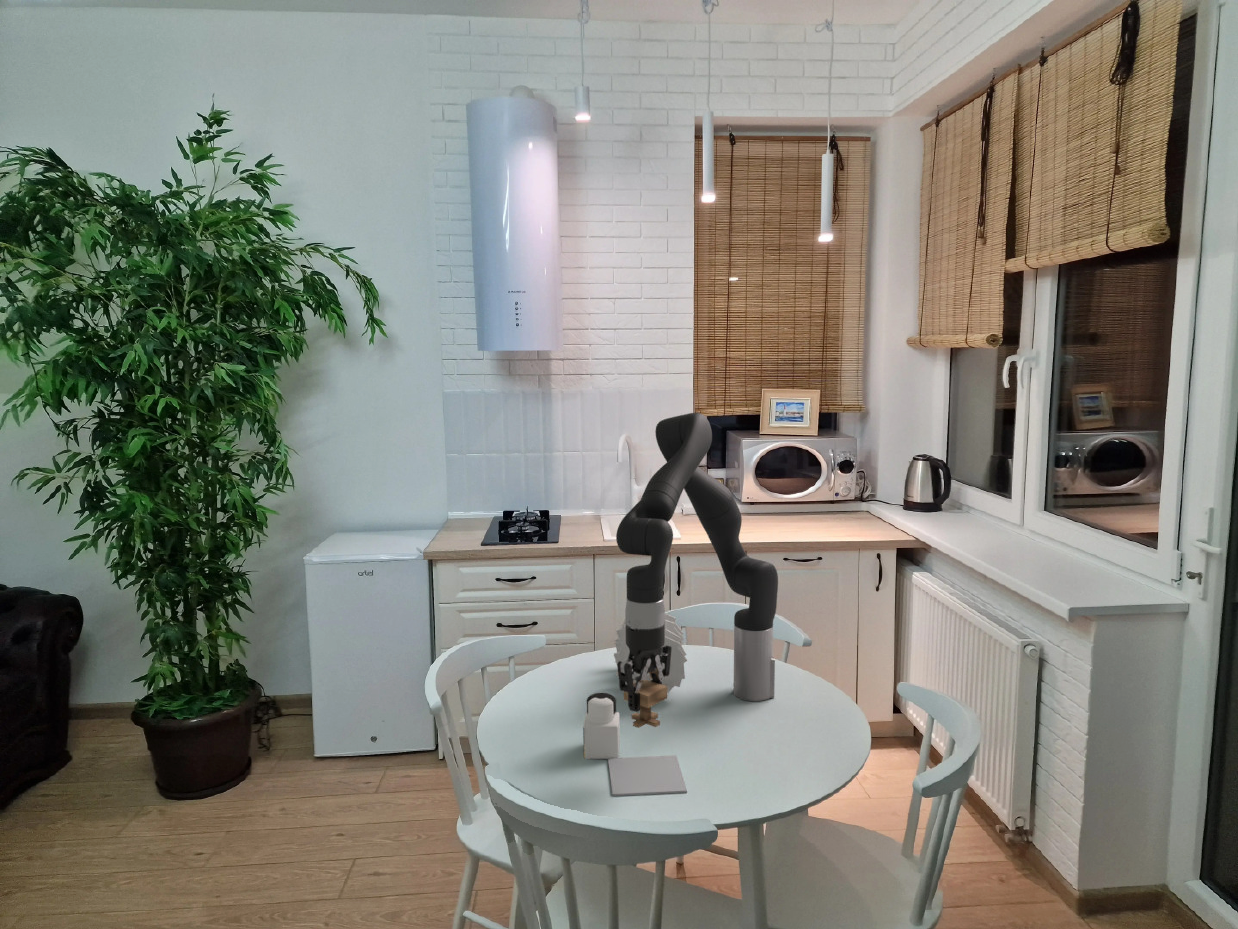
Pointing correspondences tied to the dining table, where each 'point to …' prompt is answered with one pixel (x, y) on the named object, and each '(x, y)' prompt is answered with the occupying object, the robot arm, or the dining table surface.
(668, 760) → the mat
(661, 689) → the wooden pedestal stool
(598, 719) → the blocky figurine
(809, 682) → the dining table surface
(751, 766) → the dining table surface
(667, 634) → the spiral staircase
